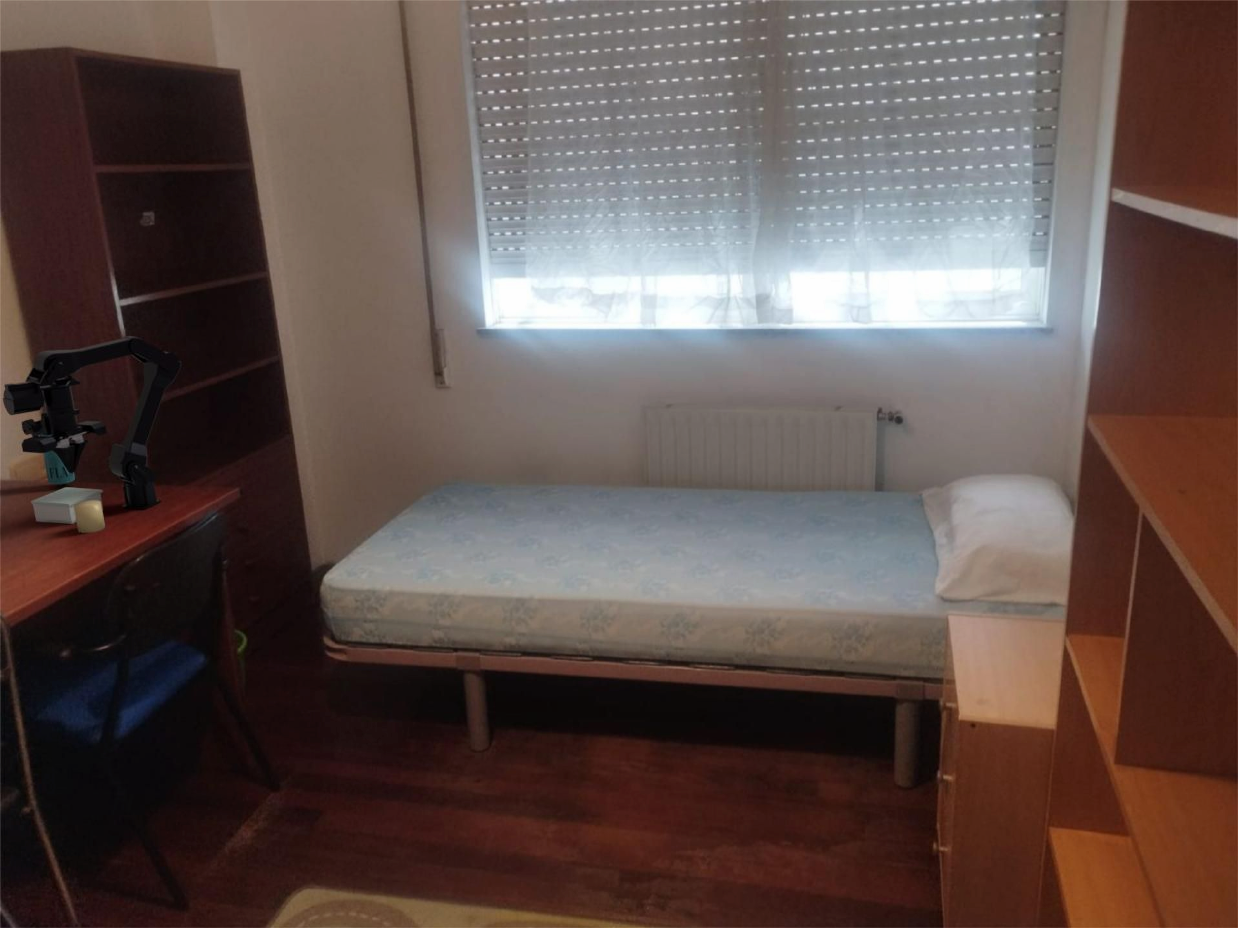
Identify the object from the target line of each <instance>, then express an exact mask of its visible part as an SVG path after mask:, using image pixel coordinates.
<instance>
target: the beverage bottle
mask: <svg viewBox="0 0 1238 928" xmlns="http://www.w3.org/2000/svg"><path fill="white" fill-rule="evenodd" d="M41 415H42V413H40V420H42V416H41ZM39 436H47V437H50V436H51V435H39ZM61 438H63V437H61ZM42 455H43V462H44V466H45V467H44V468H45V475H46V478H47V482H48V483H49V484H50V485H63V484H68V483H72V482H73V481H75V478H76V474H75V472H73V473H69V472H68V470H67V469H66V467H65V466H64V464H63V463H62V461H61V460H60V458H59V457H58V455H57V454H56V453H55V452H54V451H49V452H46V453H42Z"/></svg>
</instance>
